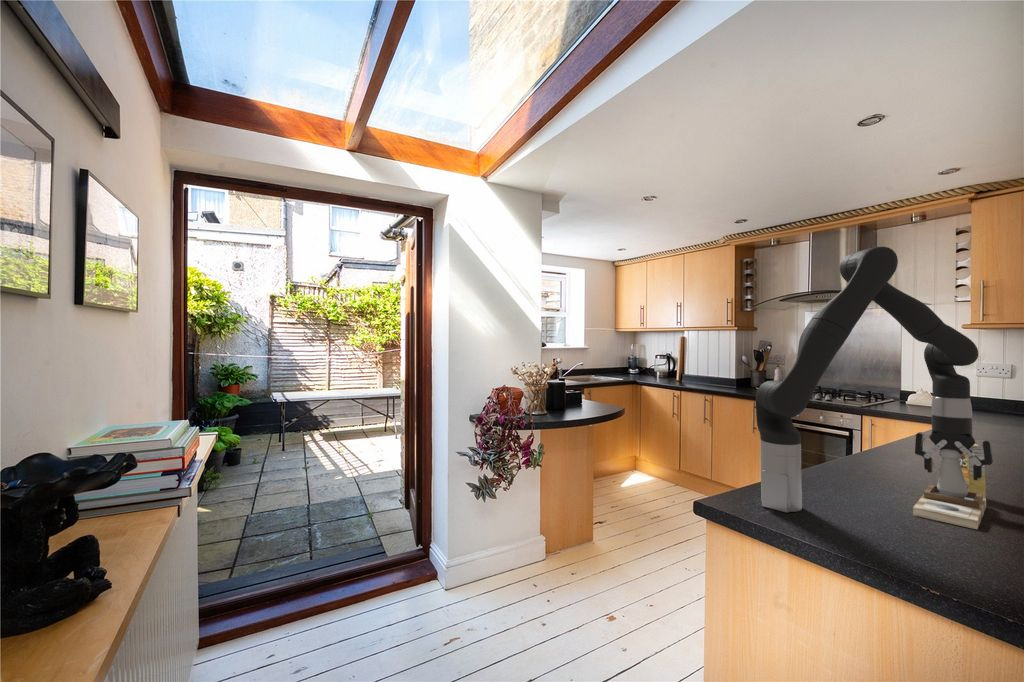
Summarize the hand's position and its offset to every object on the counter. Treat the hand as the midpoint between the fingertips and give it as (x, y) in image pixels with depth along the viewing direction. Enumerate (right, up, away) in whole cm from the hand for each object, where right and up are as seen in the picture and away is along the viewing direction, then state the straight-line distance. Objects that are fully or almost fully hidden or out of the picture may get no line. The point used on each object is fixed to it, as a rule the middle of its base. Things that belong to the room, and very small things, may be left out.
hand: (952, 475), depth 114 cm
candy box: (+11, -8, +7) cm, 15 cm away
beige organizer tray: (-4, -8, -3) cm, 9 cm away
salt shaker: (0, -6, 0) cm, 6 cm away
